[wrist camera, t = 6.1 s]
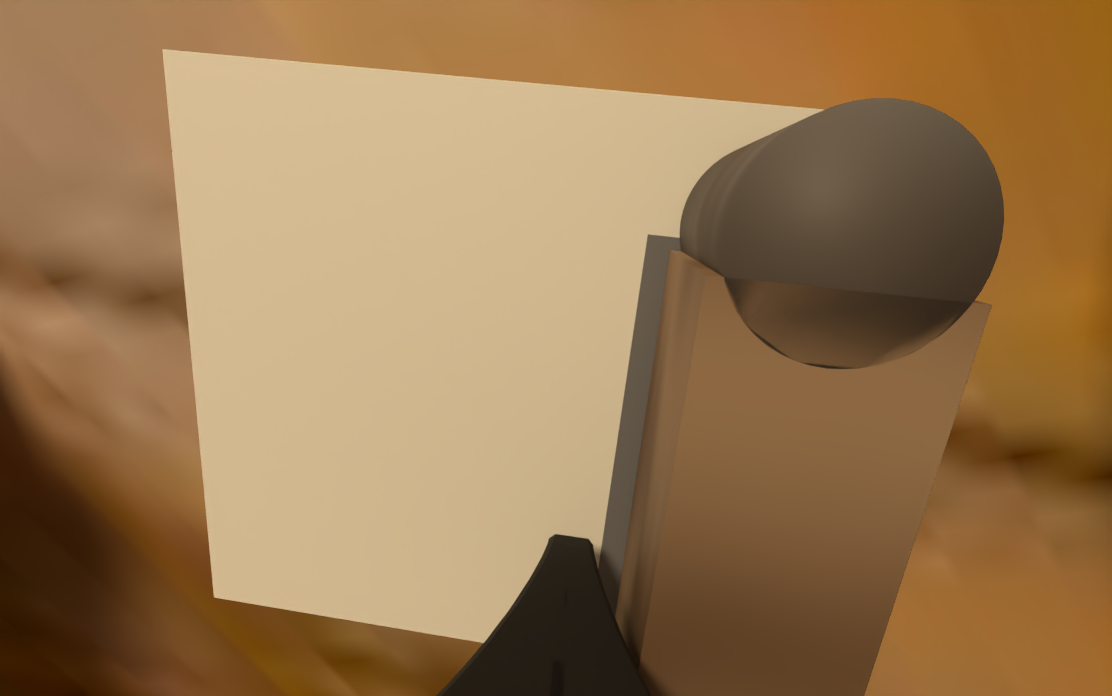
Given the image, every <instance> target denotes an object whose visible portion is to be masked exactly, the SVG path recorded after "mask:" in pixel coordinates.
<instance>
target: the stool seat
mask: <svg viewBox="0 0 1112 696" xmlns="http://www.w3.org/2000/svg"><path fill="white" fill-rule="evenodd" d="M163 60H164V71H165V81H166V92H167V102H168V113H169V124H170V134H171V145H172V155H173V166H174V177H175V187H176V198H177V209H178V219H179V230H180V240H181V251H182V262H183V272H184V283H185V293H186V304H187V315H188V325H189V336H190V347H191V357H192V368H193V378H194V389H195V400H196V410H197V421H198V431H199V442H200V453H201V463H202V474H203V485H204V495H205V506H206V516H207V527H208V538H209V548H210V559H211V569H212V580H213V591H214V597H215V598H221V599H227V600H233V601H238V602H244V603H250V604H256V605H262V606H268V607H274V608H280V609H286V610H292V611H298V612H304V613H310V614H316V615H321V616H327V617H333V618H339V619H345V620H351V621H357V622H363V623H369V624H375V625H381V626H387V627H393V628H399V629H405V630H410V631H416V632H422V633H428V634H434V635H440V636H446V637H452V638H458V639H464V640H470V641H476V642H482V643H484V642H485V641H486V640H487V638H488V637H489V636H490V634H491V633H492V632H493V630H494V629H495V628H496V626H497V625H498V624H499V622H500V621H501V620H502V618H503V617H504V616H505V615H506V613H507V612H508V611H509V609H510V608H511V606H512V605H513V603H514V602H515V600H516V599H517V597H518V596H519V594H520V593H521V591H522V590H523V588H524V586H525V585H526V583H527V582H528V580H529V579H530V577H531V575H532V574H533V572H534V570H535V568H536V567H537V565H538V563H539V561H540V559H541V557H542V555H543V553H544V551H545V548H546V546H547V543H548V540H549V538H550V537H552V536H553V535H555V534H559V535H566V536H573V537H580V538H586V539H589V540H590V541H591V543H592V544H593V548H594V554H595V559H596V563H597V567H598V570H599V574H600V577H601V580H602V583H603V587H604V590H605V593H606V595H607V598H608V601H609V604H610V606H611V609H612V611H613V614H614V616H615V614H616V608H617V601H618V594H619V588H620V581H621V574H622V568H623V561H624V554H625V548H626V541H627V534H628V528H629V521H630V514H631V508H632V501H633V495H634V488H635V481H636V475H637V468H638V461H639V455H640V448H641V441H642V435H643V428H644V421H645V415H646V408H647V401H648V395H649V388H650V382H651V375H652V368H653V362H654V355H655V348H656V342H657V335H658V328H659V322H660V315H661V308H662V302H663V295H664V288H665V282H666V275H667V268H668V262H669V255H670V250H674V251H681V246H680V221H681V217H682V212H683V209H684V206H685V203H686V200H687V198H688V196H689V194H690V192H691V190H692V189H693V187H694V186H695V184H696V183H697V181H698V180H699V179H700V177H701V176H702V175H703V174H704V173H705V172H706V171H707V170H708V169H709V168H710V167H711V166H712V165H713V164H714V163H716V162H717V161H718V160H720V159H721V158H723V157H724V156H726V155H727V154H729V153H731V152H733V151H735V150H737V149H739V148H741V147H744V146H746V145H748V144H750V143H752V142H755V141H757V140H759V139H761V138H763V137H765V136H768V135H770V134H772V133H774V132H776V131H778V130H781V129H783V128H785V127H787V126H789V125H792V124H794V123H796V122H798V121H800V120H802V119H805V118H807V117H809V116H811V115H813V114H816V113H818V112H821V111H823V110H822V109H811V108H800V107H789V106H778V105H767V104H756V103H746V102H735V101H724V100H713V99H702V98H691V97H680V96H669V95H658V94H647V93H636V92H625V91H614V90H603V89H592V88H581V87H570V86H559V85H548V84H537V83H526V82H515V81H504V80H493V79H482V78H471V77H460V76H449V75H438V74H427V73H417V72H406V71H395V70H384V69H373V68H362V67H351V66H340V65H329V64H318V63H307V62H296V61H285V60H274V59H263V58H252V57H241V56H230V55H219V54H208V53H197V52H186V51H175V50H164V49H163Z"/></svg>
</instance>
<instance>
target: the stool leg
mask: <svg viewBox="0 0 1112 696" xmlns="http://www.w3.org/2000/svg"><path fill="white" fill-rule="evenodd" d="M1003 224H1004V206H1003V197H1002V192H1001V186H1000V182H999V179H998V176H997V173H996V171H995V168H994V166H993V164H992V162H991V160H990V158H989V156H988V154H987V152H986V151H985V150H984V148H983V147H982V146H981V144H980V143H979V142H978V140H977V139H976V138H975V137H974V136H973V135H972V134H971V133H970V132H969V131H968V130H967V129H966V128H965V127H964V126H963V125H961V124H960V123H959V122H957V121H956V120H954V119H953V118H951V117H950V116H948V115H947V114H945V113H942V112H940V111H938V110H936V109H934V108H932V107H929V106H926V105H923V104H919V103H916V102H913V101H907V100H900V99H886V98H873V99H865V100H857V101H852V102H848V103H844V104H840V105H836V106H833V107H831V108H828V109H826V110H823V111H821V112H818V113H816V114H813V115H811V116H809V117H807V118H805V119H802V120H800V121H798V122H796V123H794V124H792V125H789V126H787V127H785V128H783V129H781V130H778V131H776V132H774V133H772V134H770V135H768V136H765V137H763V138H761V139H759V140H757V141H755V142H752V143H750V144H748V145H746V146H744V147H741V148H739V149H737V150H735V151H733V152H731V153H729V154H727V155H726V156H724V157H723V158H721V159H720V160H718V161H717V162H716V163H714V164H713V165H712V166H711V167H710V168H709V169H708V170H707V171H706V172H705V173H704V174H703V175H702V176H701V177H700V179H699V180H698V181H697V183H696V184H695V186H694V187H693V189H692V190H691V192H690V194H689V196H688V198H687V200H686V203H685V206H684V209H683V212H682V217H681V221H680V246H681V251H674V250H670V255H669V262H668V268H667V275H666V282H665V288H664V295H663V302H662V308H661V315H660V322H659V328H658V335H657V342H656V348H655V355H654V362H653V368H652V375H651V382H650V388H649V395H648V401H647V408H646V415H645V421H644V428H643V435H642V441H641V448H640V455H639V461H638V468H637V475H636V481H635V488H634V495H633V501H632V508H631V514H630V521H629V528H628V534H627V541H626V548H625V554H624V561H623V568H622V574H621V581H620V588H619V594H618V601H617V608H616V614H615V619H616V621H617V624H618V627H619V629H620V631H621V634H622V636H623V638H624V641H625V643H626V645H627V647H628V649H629V652H630V654H631V656H632V658H633V660H634V662H635V664H636V666H637V669H638V671H639V673H640V675H641V677H642V679H643V681H644V683H645V685H646V686H647V688H648V690H649V692H650V694H651V696H864V694H865V691H866V688H867V685H868V682H869V679H870V676H871V673H872V670H873V667H874V664H875V661H876V658H877V655H878V652H879V649H880V646H881V642H882V639H883V636H884V633H885V630H886V627H887V624H888V621H889V618H890V615H891V612H892V609H893V606H894V603H895V600H896V597H897V594H898V591H899V587H900V584H901V581H902V578H903V575H904V572H905V569H906V566H907V563H908V560H909V557H910V554H911V551H912V548H913V545H914V542H915V539H916V536H917V532H918V529H919V526H920V523H921V520H922V517H923V514H924V511H925V508H926V505H927V502H928V499H929V496H930V493H931V490H932V487H933V484H934V481H935V477H936V474H937V471H938V468H939V465H940V462H941V459H942V456H943V453H944V450H945V447H946V444H947V441H948V438H949V435H950V432H951V429H952V426H953V422H954V419H955V416H956V413H957V410H958V407H959V404H960V401H961V398H962V395H963V392H964V389H965V386H966V383H967V380H968V377H969V374H970V371H971V367H972V364H973V361H974V358H975V355H976V352H977V349H978V346H979V343H980V340H981V337H982V334H983V331H984V328H985V325H986V322H987V319H988V316H989V312H990V309H991V306H992V305H990V304H986V303H982V302H979V301H975V299H976V298H977V296H978V295H979V293H980V292H981V291H982V289H983V287H984V285H985V283H986V281H987V279H988V278H989V276H990V274H991V271H992V269H993V266H994V264H995V261H996V259H997V256H998V252H999V248H1000V244H1001V240H1002V233H1003Z"/></svg>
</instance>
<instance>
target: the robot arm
mask: <svg viewBox="0 0 1112 696" xmlns="http://www.w3.org/2000/svg"><path fill="white" fill-rule="evenodd" d="M436 696H651V694H650V692H649V690H648V688H647V686H646V685H645V683H644V681H643V679H642V677H641V675H640V673H639V671H638V669H637V666H636V664H635V662H634V660H633V658H632V656H631V654H630V652H629V649H628V647H627V645H626V643H625V641H624V638H623V636H622V634H621V631H620V629H619V627H618V624H617V621H616V619H615V616H614V614H613V611H612V609H611V606H610V604H609V601H608V598H607V595H606V593H605V590H604V587H603V583H602V580H601V577H600V574H599V570H598V567H597V563H596V559H595V554H594V548H593V544H592V543H591V541H590V540H589V539H586V538H580V537H573V536H566V535H559V534H555V535H553V536H552V537H550V538H549V540H548V543H547V546H546V548H545V551H544V553H543V555H542V557H541V559H540V561H539V563H538V565H537V567H536V568H535V570H534V572H533V574H532V575H531V577H530V579H529V580H528V582H527V583H526V585H525V586H524V588H523V590H522V591H521V593H520V594H519V596H518V597H517V599H516V600H515V602H514V603H513V605H512V606H511V608H510V609H509V611H508V612H507V613H506V615H505V616H504V617H503V618H502V620H501V621H500V622H499V624H498V625H497V626H496V628H495V629H494V630H493V632H492V633H491V634H490V636H489V637H488V638H487V640H486V641H485V642H484V643H483V645H482V646H481V647H480V648H479V649H478V651H477V652H476V653H475V654H474V655H473V657H472V658H471V659H470V660H469V661H468V662H467V663H466V665H465V666H464V667H463V668H462V669H461V670H460V671H459V672H458V673H457V674H456V676H455V677H454V678H453V679H452V680H451V681H450V682H449V683H448V684H447V685H446V686H445V687H444V688H443V689H442V690H441V691H440V692H439V693H438V694H437V695H436Z"/></svg>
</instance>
